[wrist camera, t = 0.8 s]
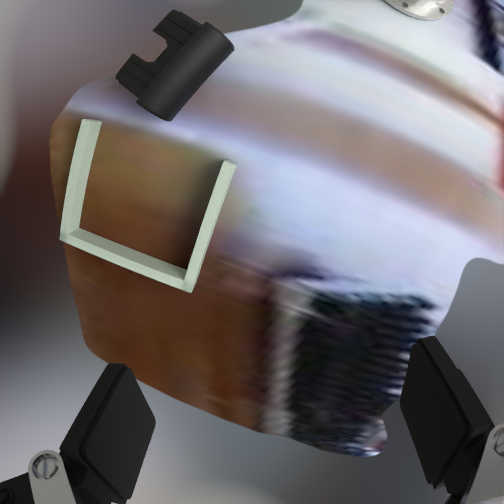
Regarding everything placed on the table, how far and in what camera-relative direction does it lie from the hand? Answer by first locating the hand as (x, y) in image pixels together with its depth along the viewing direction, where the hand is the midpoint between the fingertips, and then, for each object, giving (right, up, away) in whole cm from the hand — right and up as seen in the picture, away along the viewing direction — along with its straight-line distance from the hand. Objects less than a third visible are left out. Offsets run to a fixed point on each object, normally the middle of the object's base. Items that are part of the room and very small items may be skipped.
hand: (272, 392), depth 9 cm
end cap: (-8, +24, +20) cm, 33 cm away
